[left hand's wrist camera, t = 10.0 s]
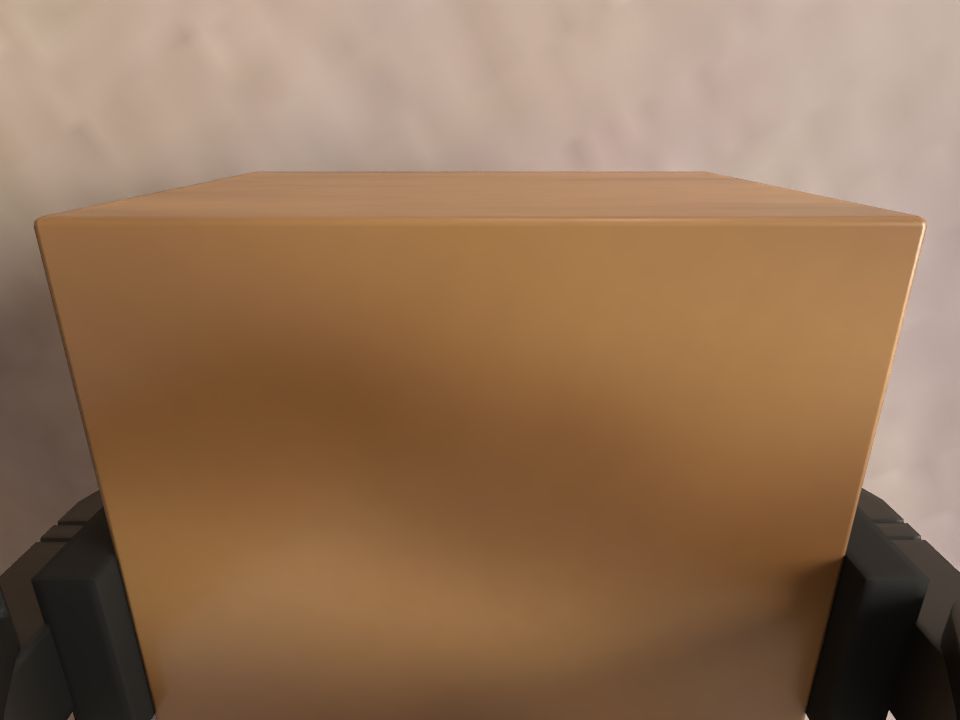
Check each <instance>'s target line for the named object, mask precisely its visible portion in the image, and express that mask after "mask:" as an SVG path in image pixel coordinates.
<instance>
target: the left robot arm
mask: <svg viewBox="0 0 960 720" xmlns="http://www.w3.org/2000/svg"><path fill="white" fill-rule="evenodd" d="M889 710H890V712H891V713H892V715H893V716H894V717H895V719H896V720H960V572H959V571H958V570H957V569H955V568H954V567H953V566H952V565H951V564H950V563H949V562H948V561H947V560H946V559H945V558H944V557H943V556H942V555H941V554H940V553H939V552H937V551H936V550H935V549H934V548H933V547H932V546H931V545H930V544H929V543H928V542H927V541H926V540H921V536H920V535H919V534H918V533H917V532H916V531H915V530H914V529H913V528H912V527H911V526H910V525H909V524H908V523H904V522H903V519H902V518H901V517H900V516H899V515H898V514H897V513H896V512H895V511H894V510H893V509H892V508H891V507H890V506H889V505H888V504H887V503H885V502H884V501H883V500H882V499H880V498H879V497H877V496H875V495H873V494H872V493H870V492H868V491H866V490H864V489H863V488H862V489H861V493H860V497H859V501H858V505H857V509H856V513H855V517H854V521H853V525H852V529H851V533H850V537H849V541H848V545H847V549H846V553H845V557H844V561H843V565H842V569H841V573H840V577H839V581H838V585H837V589H836V593H835V597H834V601H833V605H832V609H831V613H830V617H829V621H828V625H827V630H826V634H825V638H824V642H823V646H822V650H821V654H820V658H819V662H818V666H817V670H816V674H815V678H814V682H813V686H812V690H811V694H810V698H809V702H808V706H807V710H806V714H807V716H808V718H809V720H886V717H887V714H888V711H889ZM72 712H73V715H74V718H75V720H151V719H152V718H153V716H154V714H155V711H154V707H153V703H152V699H151V695H150V691H149V687H148V683H147V679H146V675H145V671H144V667H143V663H142V659H141V655H140V651H139V647H138V643H137V639H136V635H135V631H134V627H133V623H132V619H131V615H130V611H129V607H128V603H127V599H126V595H125V591H124V587H123V583H122V578H121V574H120V570H119V566H118V562H117V558H116V554H115V550H114V546H113V542H112V538H111V534H110V530H109V526H108V522H107V518H106V514H105V510H104V506H103V502H102V498H101V494H100V490H99V491H97V492H95V493H93V494H92V495H90V496H88V497H86V498H85V499H83V500H81V501H79V502H78V503H77V504H76V505H75V506H74V507H73V508H72V509H71V510H70V511H69V512H67V513H66V514H65V515H64V516H63V517H62V518H61V519H60V520H59V521H58V525H54V526H53V527H52V528H51V529H50V530H49V531H47V532H46V533H45V534H44V535H43V536H42V537H41V541H40V542H36V543H35V544H34V545H33V546H32V547H31V548H30V549H29V550H27V551H26V552H25V553H24V554H23V555H22V556H21V557H20V558H19V559H18V560H17V561H16V562H15V563H14V564H13V565H12V566H11V567H10V568H9V569H7V570H6V571H5V572H4V573H3V574H2V575H1V576H0V720H67V719H68V717H69V716H70V715H71V713H72Z"/></svg>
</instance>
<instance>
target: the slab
mask: <svg viewBox="0 0 960 720" xmlns="http://www.w3.org/2000/svg"><path fill="white" fill-rule="evenodd" d="M926 227H927V225H926V220H925V219H923V218H921V217H919V216H914V215H910V214H905V213H900V212H895V211H891V210H886V209H881V208H876V207H871V206H867V205H862V204H857V203H852V202H847V201H843V200H838V199H833V198H828V197H823V196H819V195H814V194H809V193H804V192H799V191H795V190H790V189H785V188H780V187H775V186H771V185H766V184H761V183H756V182H752V181H747V180H742V179H737V178H732V177H728V176H723V175H718V174H713V173H708V172H253V173H248V174H243V175H238V176H234V177H229V178H224V179H219V180H215V181H210V182H205V183H200V184H196V185H191V186H186V187H181V188H176V189H172V190H167V191H162V192H157V193H153V194H148V195H143V196H138V197H133V198H129V199H124V200H119V201H114V202H110V203H105V204H100V205H95V206H90V207H86V208H81V209H76V210H71V211H67V212H62V213H57V214H52V215H47V216H43V217H40V218H38V219H36V220H35V222H34V229H35V233H36V237H37V241H38V245H39V249H40V253H41V257H42V261H43V265H44V269H45V273H46V277H47V281H48V285H49V289H50V293H51V297H52V302H53V306H54V310H55V314H56V318H57V322H58V326H59V330H60V334H61V338H62V342H63V346H64V350H65V354H66V358H67V362H68V366H69V370H70V374H71V378H72V382H73V386H74V390H75V394H76V398H77V402H78V406H79V410H80V414H81V418H82V422H83V426H84V430H85V434H86V438H87V442H88V446H89V450H90V454H91V458H92V462H93V466H94V470H95V474H96V478H97V482H98V486H99V490H100V494H101V498H102V502H103V506H104V510H105V514H106V518H107V522H108V526H109V530H110V534H111V538H112V542H113V546H114V550H115V554H116V558H117V562H118V566H119V570H120V574H121V578H122V583H123V587H124V591H125V595H126V599H127V603H128V607H129V611H130V615H131V619H132V623H133V627H134V631H135V635H136V639H137V643H138V647H139V651H140V655H141V659H142V663H143V667H144V671H145V675H146V679H147V683H148V687H149V691H150V695H151V699H152V703H153V707H154V711H155V715H156V719H157V720H804V718H805V714H806V710H807V706H808V702H809V698H810V694H811V690H812V686H813V682H814V678H815V674H816V670H817V666H818V662H819V658H820V654H821V650H822V646H823V642H824V638H825V634H826V630H827V625H828V621H829V617H830V613H831V609H832V605H833V601H834V597H835V593H836V589H837V585H838V581H839V577H840V573H841V569H842V565H843V561H844V557H845V553H846V549H847V545H848V541H849V537H850V533H851V529H852V525H853V521H854V517H855V513H856V509H857V505H858V501H859V497H860V493H861V489H862V485H863V481H864V477H865V473H866V469H867V465H868V461H869V457H870V453H871V449H872V445H873V441H874V437H875V432H876V428H877V424H878V420H879V416H880V412H881V408H882V404H883V400H884V396H885V392H886V388H887V384H888V380H889V376H890V372H891V368H892V364H893V360H894V356H895V352H896V348H897V344H898V340H899V336H900V332H901V328H902V324H903V320H904V316H905V312H906V308H907V304H908V300H909V296H910V292H911V288H912V284H913V280H914V276H915V272H916V268H917V264H918V260H919V256H920V252H921V248H922V244H923V239H924V235H925V231H926Z"/></svg>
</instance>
